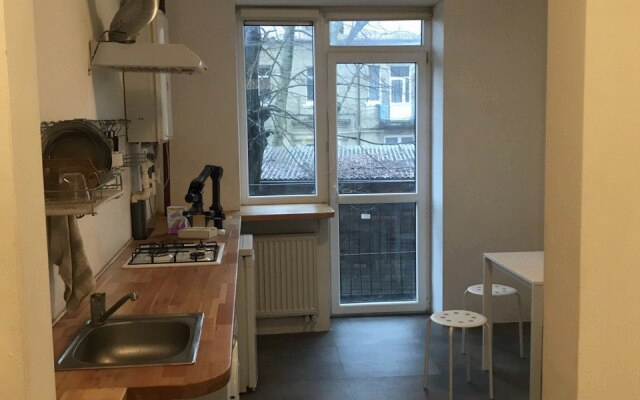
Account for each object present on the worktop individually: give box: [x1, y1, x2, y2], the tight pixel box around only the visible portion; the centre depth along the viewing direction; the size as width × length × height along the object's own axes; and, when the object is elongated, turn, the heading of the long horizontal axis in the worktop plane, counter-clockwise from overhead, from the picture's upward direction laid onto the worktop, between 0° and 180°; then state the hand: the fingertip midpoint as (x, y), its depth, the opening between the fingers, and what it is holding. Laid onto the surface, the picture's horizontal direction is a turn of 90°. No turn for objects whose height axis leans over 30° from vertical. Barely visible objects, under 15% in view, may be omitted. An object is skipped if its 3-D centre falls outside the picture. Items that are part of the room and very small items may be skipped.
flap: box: [184, 226, 217, 229], centre depth 398 cm, size 5×19×1 cm, turn 74°
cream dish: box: [218, 229, 226, 236], centre depth 402 cm, size 7×7×2 cm
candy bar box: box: [166, 206, 188, 235], centre depth 408 cm, size 11×5×16 cm, turn 83°
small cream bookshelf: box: [177, 229, 219, 240], centre depth 395 cm, size 12×20×5 cm, turn 74°
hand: (199, 227), depth 396 cm, fingers open, 9 cm apart
